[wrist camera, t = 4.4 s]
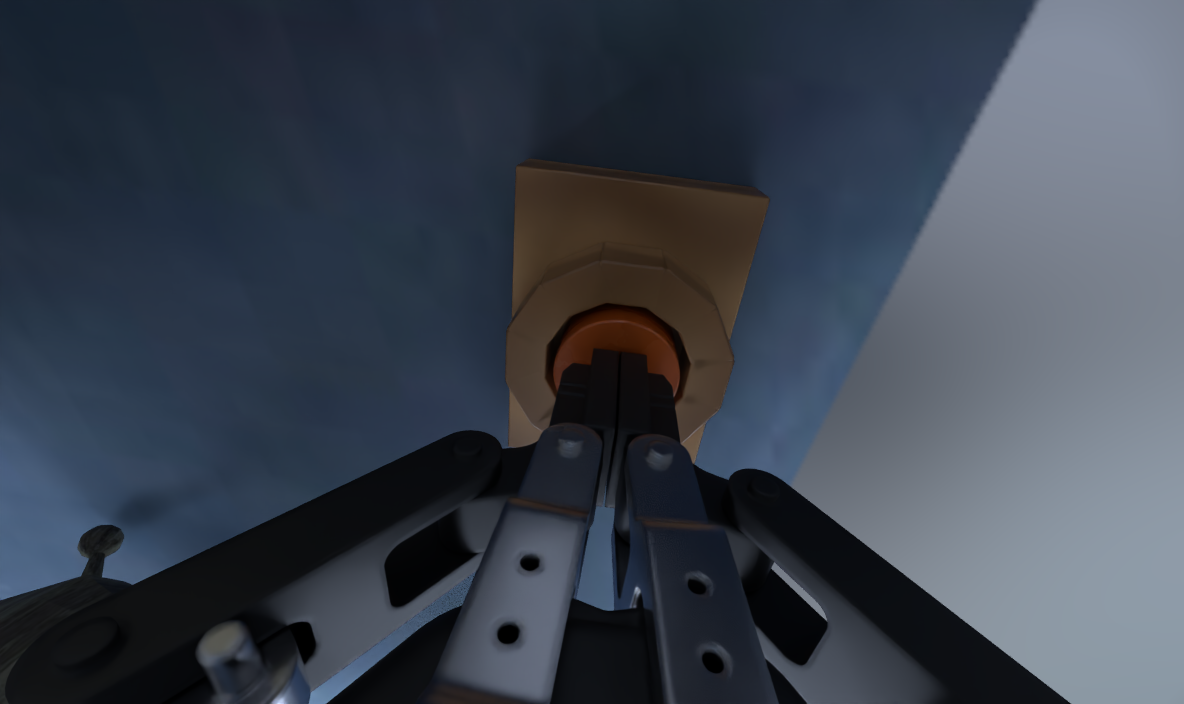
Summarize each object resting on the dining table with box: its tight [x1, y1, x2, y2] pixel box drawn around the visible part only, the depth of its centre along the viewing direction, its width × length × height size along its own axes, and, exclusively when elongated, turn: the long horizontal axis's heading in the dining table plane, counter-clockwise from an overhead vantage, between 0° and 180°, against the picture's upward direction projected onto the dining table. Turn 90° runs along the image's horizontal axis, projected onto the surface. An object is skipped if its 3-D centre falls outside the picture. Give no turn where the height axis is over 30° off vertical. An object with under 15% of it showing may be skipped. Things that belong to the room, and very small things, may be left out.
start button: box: [553, 303, 680, 396], centre depth 14 cm, size 4×4×2 cm
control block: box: [505, 158, 770, 464], centre depth 15 cm, size 10×7×4 cm
